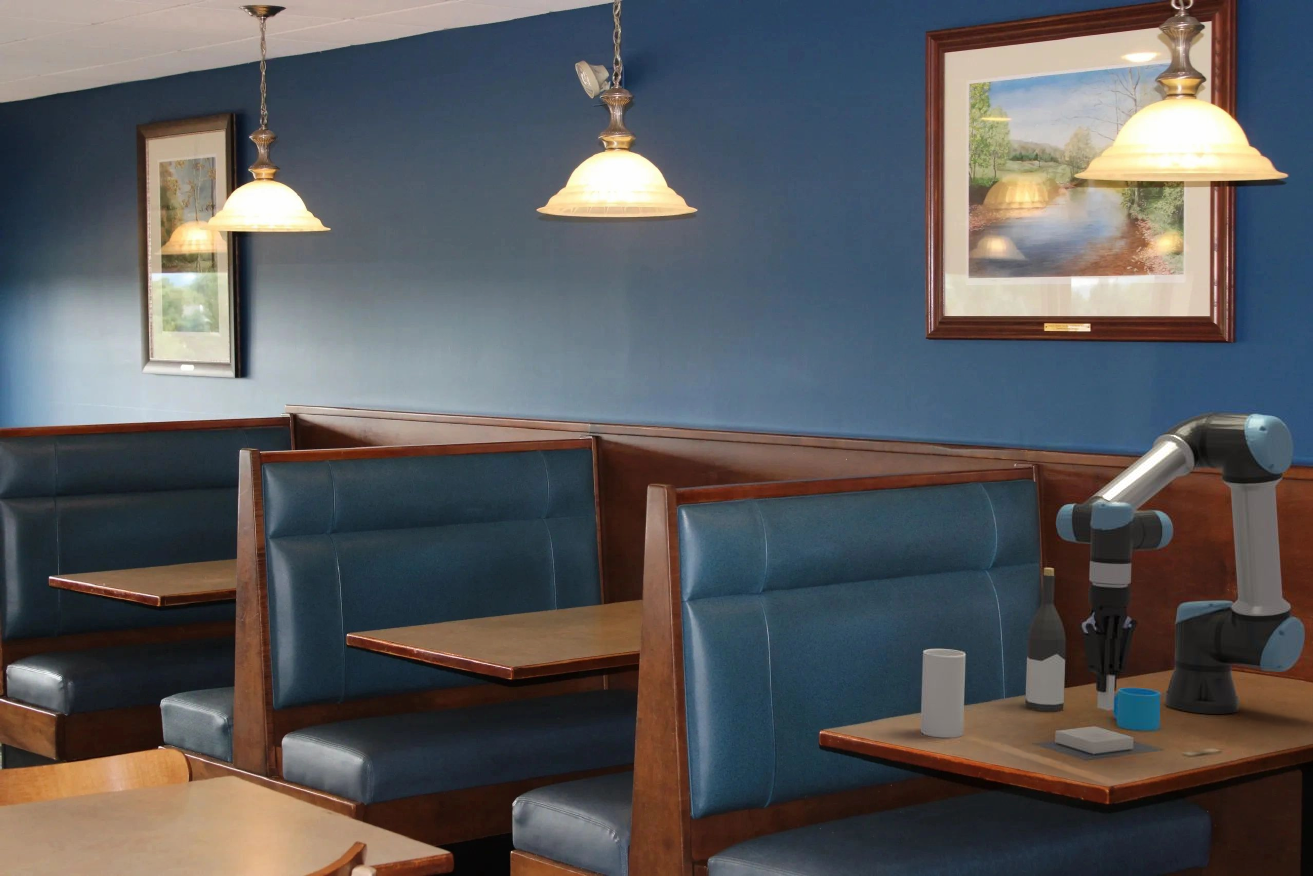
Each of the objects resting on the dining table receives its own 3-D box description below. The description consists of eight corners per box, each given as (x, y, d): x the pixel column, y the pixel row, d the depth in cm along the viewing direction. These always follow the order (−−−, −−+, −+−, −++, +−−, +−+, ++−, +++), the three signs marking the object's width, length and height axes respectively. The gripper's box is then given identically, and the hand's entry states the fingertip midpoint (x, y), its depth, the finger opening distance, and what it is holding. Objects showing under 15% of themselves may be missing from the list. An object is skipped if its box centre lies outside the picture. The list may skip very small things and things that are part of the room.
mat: (1109, 740, 306) (1109, 733, 306) (1164, 756, 293) (1164, 749, 293) (1031, 749, 296) (1032, 743, 296) (1085, 766, 284) (1085, 760, 284)
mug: (1168, 735, 311) (1169, 694, 311) (1134, 738, 308) (1136, 696, 308) (1128, 722, 322) (1130, 683, 322) (1096, 724, 319) (1097, 685, 319)
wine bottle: (1050, 703, 339) (1054, 565, 338) (1071, 711, 332) (1076, 570, 331) (1017, 704, 337) (1022, 566, 336) (1038, 712, 329) (1042, 571, 328)
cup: (965, 730, 311) (968, 650, 310) (959, 739, 303) (962, 657, 302) (924, 726, 313) (926, 647, 313) (917, 735, 306) (919, 654, 305)
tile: (1094, 726, 301) (1055, 731, 296) (1133, 737, 292) (1093, 742, 287) (1094, 739, 301) (1054, 743, 296) (1133, 750, 292) (1093, 755, 287)
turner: (1204, 754, 295) (1204, 746, 295) (1229, 761, 290) (1229, 753, 290) (1141, 763, 288) (1142, 755, 288) (1166, 771, 282) (1167, 762, 282)
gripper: (1120, 580, 300) (1116, 702, 301) (1069, 583, 294) (1065, 707, 295) (1149, 585, 294) (1145, 709, 295) (1098, 588, 288) (1094, 715, 289)
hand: (1105, 708), depth 295 cm, fingers closed
